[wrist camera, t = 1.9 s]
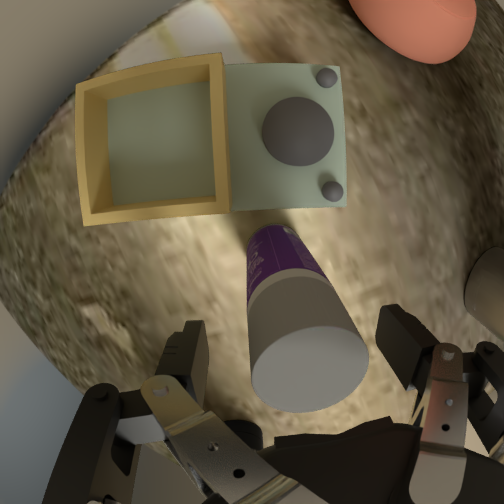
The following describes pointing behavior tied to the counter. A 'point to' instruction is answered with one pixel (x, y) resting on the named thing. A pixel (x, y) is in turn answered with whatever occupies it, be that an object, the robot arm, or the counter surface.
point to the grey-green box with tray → (209, 139)
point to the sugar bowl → (420, 26)
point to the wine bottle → (247, 433)
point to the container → (298, 327)
